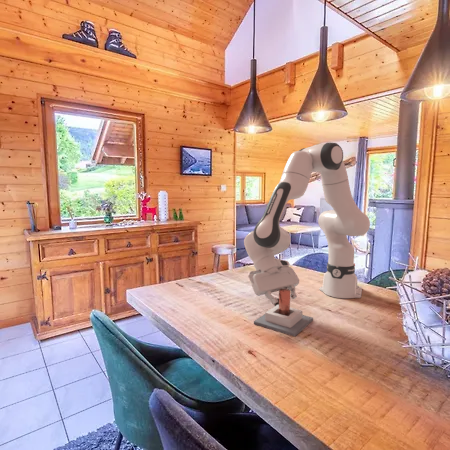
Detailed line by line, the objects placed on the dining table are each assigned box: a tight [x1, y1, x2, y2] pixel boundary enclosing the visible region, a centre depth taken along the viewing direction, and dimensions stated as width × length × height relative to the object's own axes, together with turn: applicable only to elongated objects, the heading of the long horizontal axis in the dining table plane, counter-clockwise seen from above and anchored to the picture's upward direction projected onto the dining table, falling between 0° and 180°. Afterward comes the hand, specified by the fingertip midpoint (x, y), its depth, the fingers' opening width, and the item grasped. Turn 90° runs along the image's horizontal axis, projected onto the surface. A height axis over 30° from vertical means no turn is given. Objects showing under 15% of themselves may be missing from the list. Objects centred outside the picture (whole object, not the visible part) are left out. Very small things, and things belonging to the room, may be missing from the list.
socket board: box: [253, 305, 314, 337], centre depth 111 cm, size 16×16×4 cm
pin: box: [278, 289, 291, 316], centre depth 110 cm, size 4×4×11 cm
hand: (285, 300), depth 110 cm, fingers open, 8 cm apart
